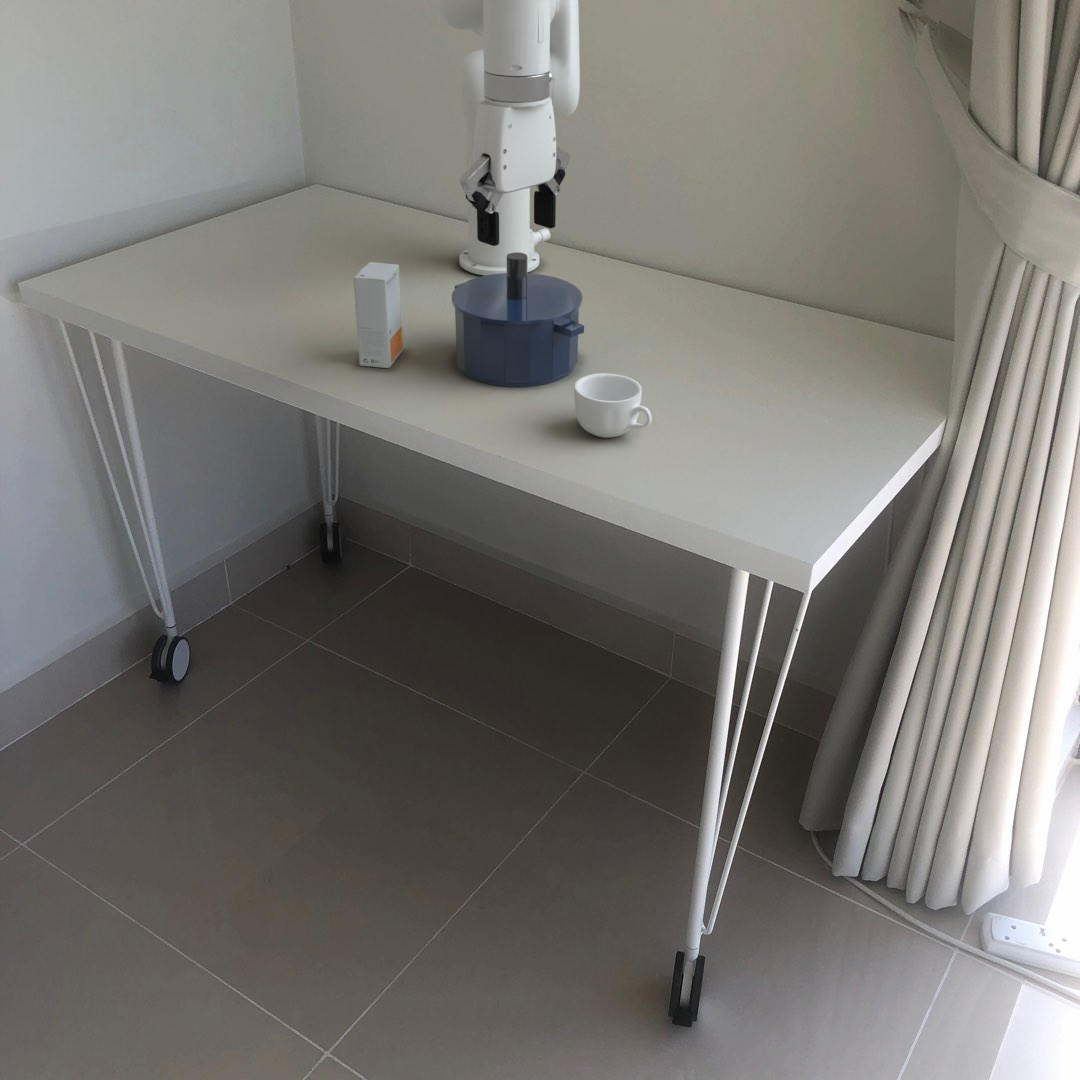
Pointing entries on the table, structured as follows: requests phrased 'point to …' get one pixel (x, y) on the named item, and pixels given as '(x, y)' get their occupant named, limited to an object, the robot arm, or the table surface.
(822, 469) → the table surface
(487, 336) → the pot
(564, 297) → the pot lid
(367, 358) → the cosmetic box
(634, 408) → the teacup
